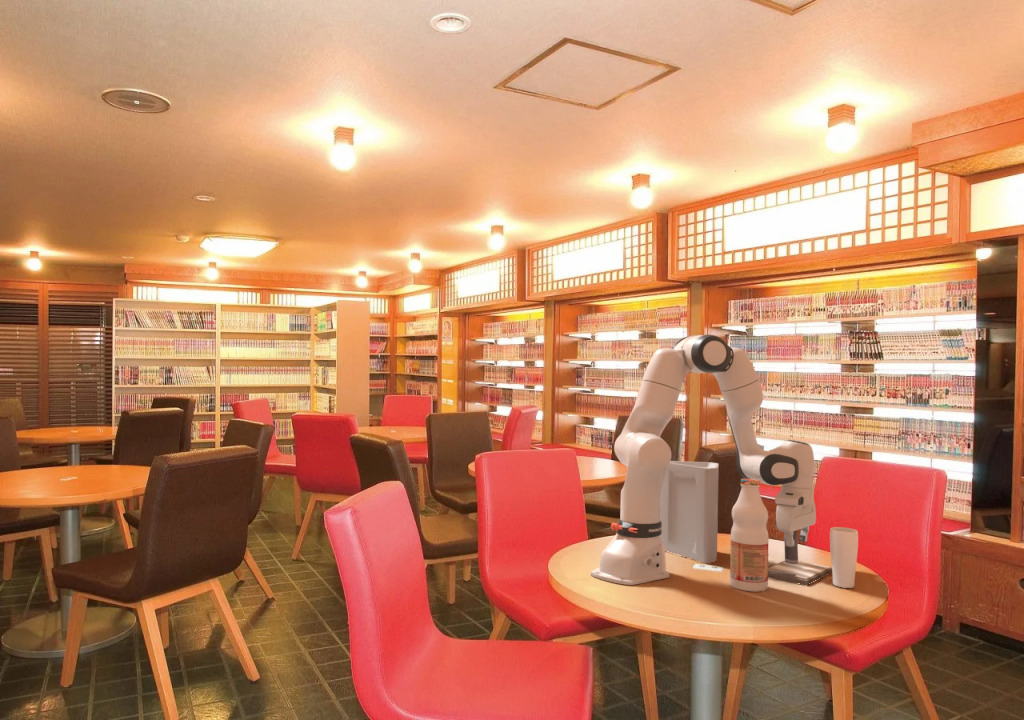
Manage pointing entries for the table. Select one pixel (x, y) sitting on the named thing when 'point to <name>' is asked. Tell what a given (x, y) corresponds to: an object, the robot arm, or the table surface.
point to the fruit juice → (749, 540)
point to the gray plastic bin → (690, 510)
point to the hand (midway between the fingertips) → (796, 543)
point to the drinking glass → (843, 556)
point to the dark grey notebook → (798, 572)
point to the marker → (791, 550)
